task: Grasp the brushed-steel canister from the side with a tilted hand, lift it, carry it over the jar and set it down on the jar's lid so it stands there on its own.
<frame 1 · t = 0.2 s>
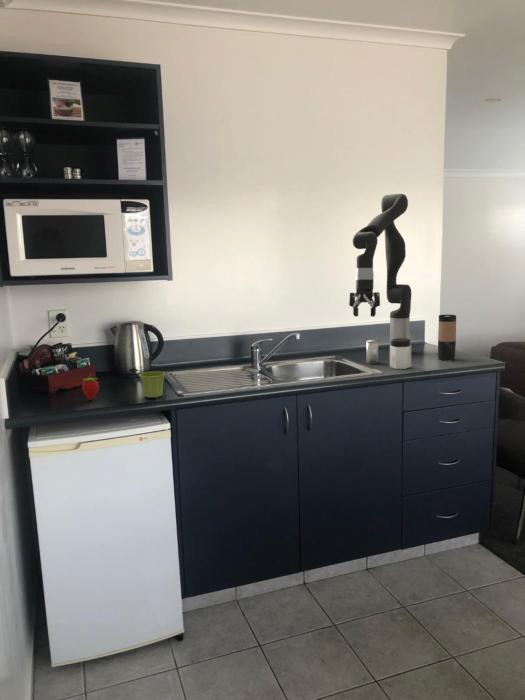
hand: (364, 316, 245), 22 cm above the worktop, tool pointing down, fingers open, 8 cm apart
canister: (372, 362, 254), on the worktop
travel mug: (446, 359, 255), on the worktop
plant pot: (153, 397, 204), on the worktop
jar: (400, 367, 242), on the worktop
strawberry: (91, 401, 202), on the worktop
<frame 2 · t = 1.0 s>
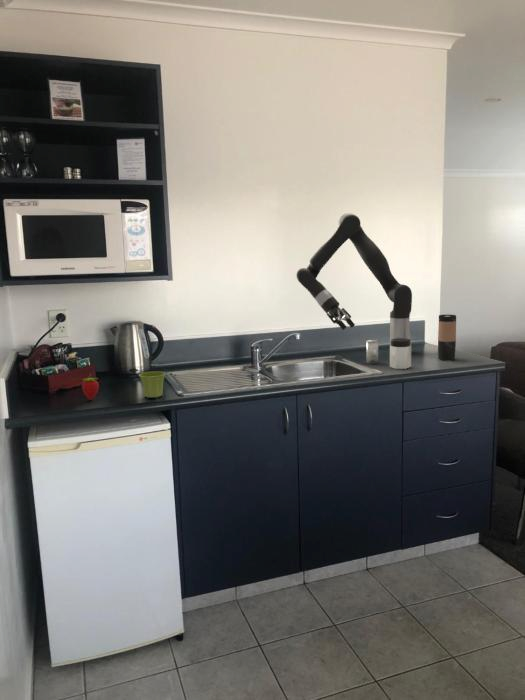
hand: (349, 327, 257), 15 cm above the worktop, tool tilted 45°, fingers open, 8 cm apart
nothing on the worktop moved.
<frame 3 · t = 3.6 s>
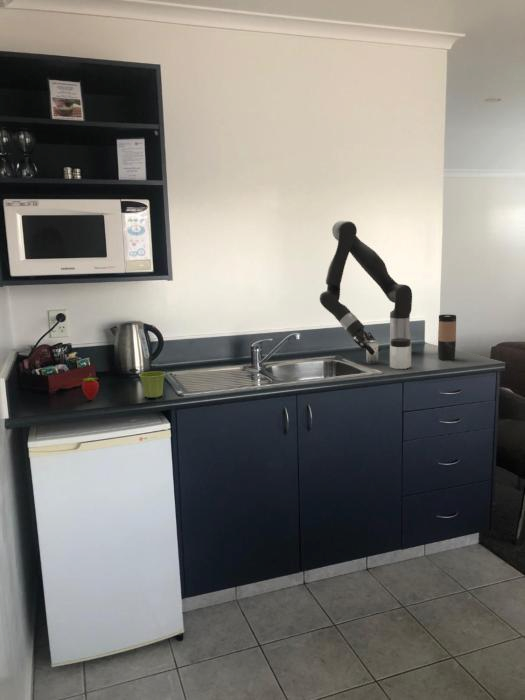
hand: (376, 352, 252), 5 cm above the worktop, tool tilted 45°, fingers closed on canister, 5 cm apart
canister: (372, 362, 254), on the worktop, touching gripper
everything else where it was.
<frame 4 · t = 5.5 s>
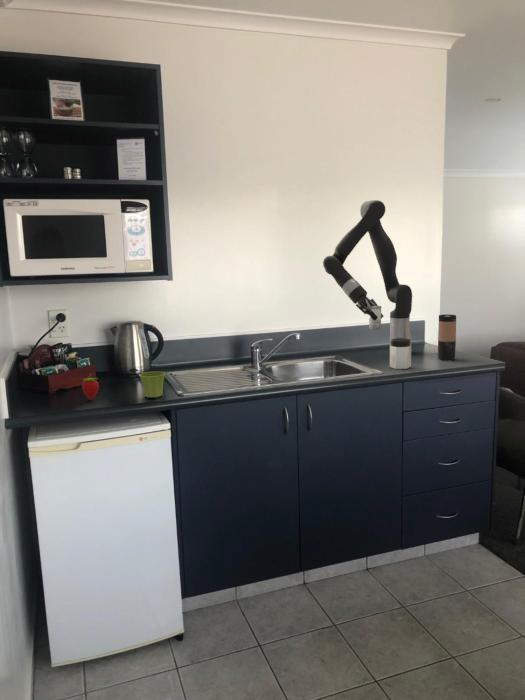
hand: (379, 318, 248), 20 cm above the worktop, tool tilted 45°, fingers closed on canister, 5 cm apart
canister: (375, 328, 250), point 15 cm above the worktop, touching gripper
everything else where it was.
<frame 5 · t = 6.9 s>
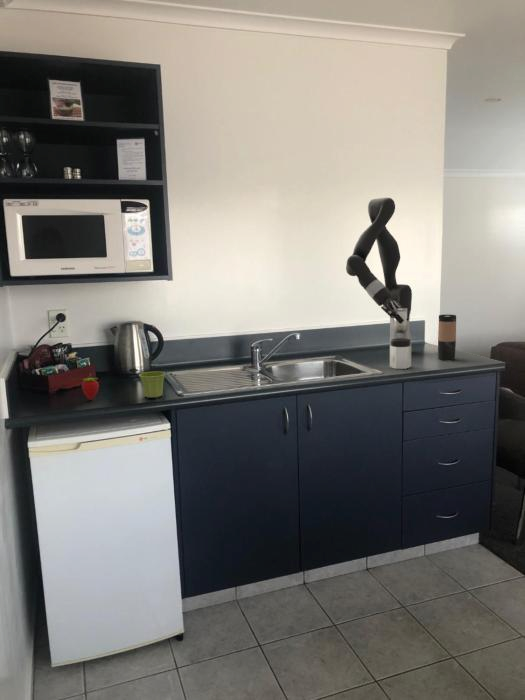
hand: (404, 321, 237), 20 cm above the worktop, tool tilted 45°, fingers closed on canister, 5 cm apart
canister: (400, 332, 239), point 15 cm above the worktop, touching gripper
everything else where it was.
when the fingers open (18 cm above the worktop, at t = 7.8 s): canister drops 1 cm, resting on jar.
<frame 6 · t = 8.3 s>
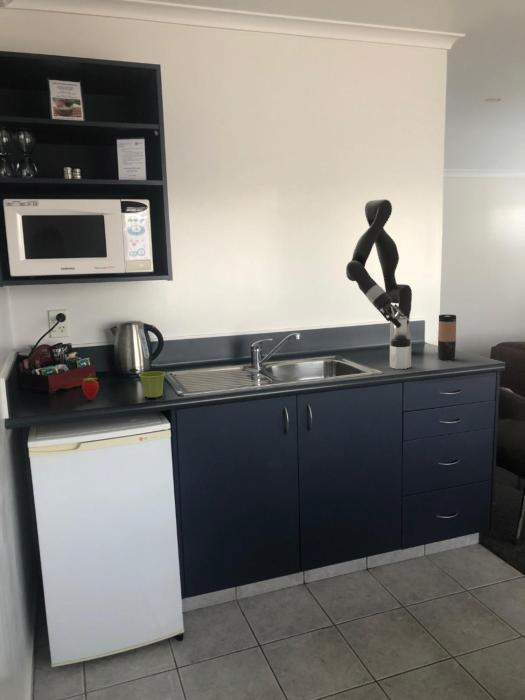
hand: (403, 325, 238), 18 cm above the worktop, tool tilted 45°, fingers open, 8 cm apart
canister: (400, 340, 240), point 12 cm above the worktop, touching jar
jar: (400, 367, 242), on the worktop, touching canister
everything else where it was.
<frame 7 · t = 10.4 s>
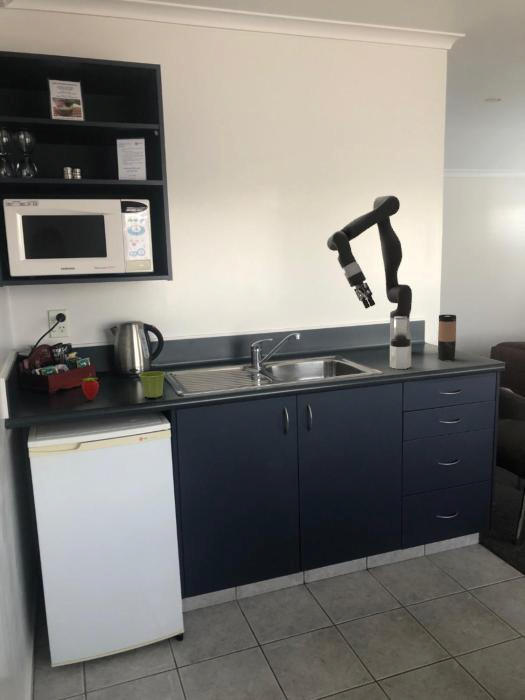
hand: (370, 306, 249), 25 cm above the worktop, tool tilted 25°, fingers open, 8 cm apart
nothing on the worktop moved.
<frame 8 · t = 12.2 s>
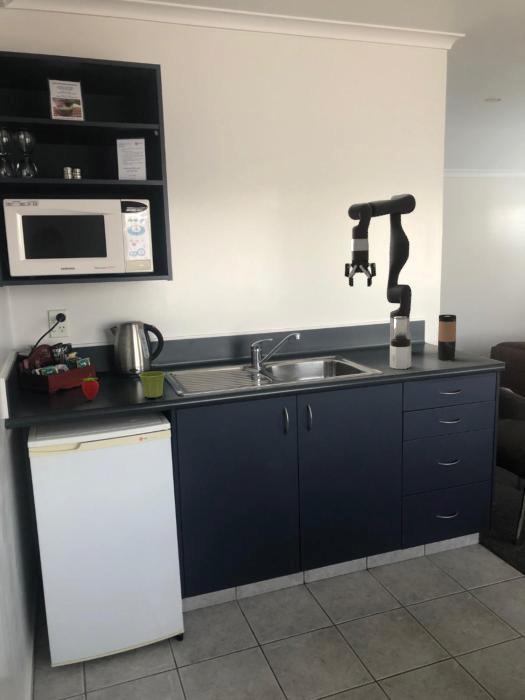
hand: (360, 286, 251), 34 cm above the worktop, tool pointing down, fingers open, 8 cm apart
nothing on the worktop moved.
at the end: canister inside the target area on the jar (0.3 cm from its centre), point 12.0 cm above the jar's base; canister tilted 0°; the gripper is holding nothing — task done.
